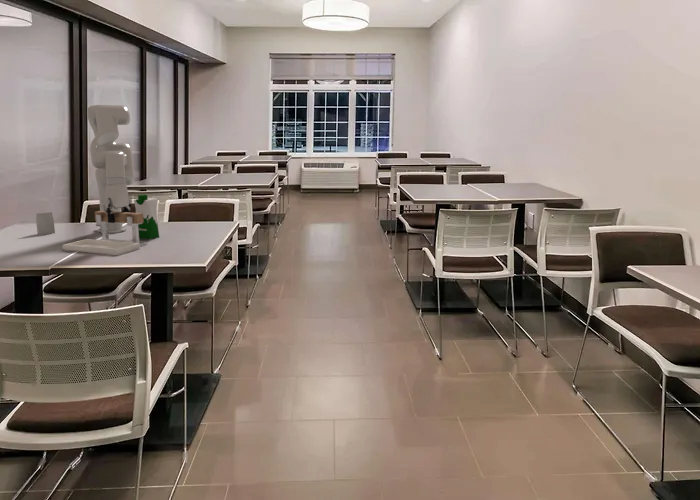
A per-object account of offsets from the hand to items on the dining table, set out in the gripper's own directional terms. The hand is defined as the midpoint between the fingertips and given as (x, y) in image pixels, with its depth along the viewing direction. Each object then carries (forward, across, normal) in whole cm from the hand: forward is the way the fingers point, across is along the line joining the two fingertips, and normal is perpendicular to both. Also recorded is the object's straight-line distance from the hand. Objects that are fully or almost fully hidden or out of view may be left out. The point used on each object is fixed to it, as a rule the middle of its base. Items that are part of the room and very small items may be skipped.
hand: (119, 221), depth 261 cm
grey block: (+11, -10, -51) cm, 53 cm away
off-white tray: (+10, +12, 0) cm, 16 cm away
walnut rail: (0, 0, 0) cm, 0 cm away
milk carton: (+10, -18, +1) cm, 20 cm away
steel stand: (+10, 0, 0) cm, 10 cm away
